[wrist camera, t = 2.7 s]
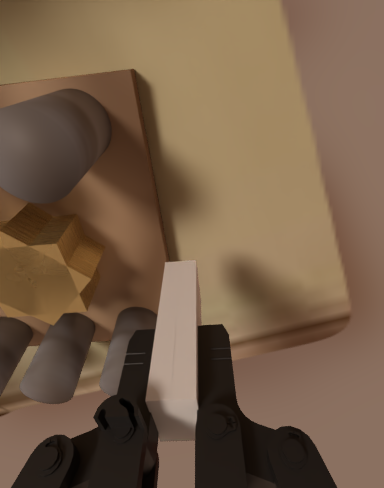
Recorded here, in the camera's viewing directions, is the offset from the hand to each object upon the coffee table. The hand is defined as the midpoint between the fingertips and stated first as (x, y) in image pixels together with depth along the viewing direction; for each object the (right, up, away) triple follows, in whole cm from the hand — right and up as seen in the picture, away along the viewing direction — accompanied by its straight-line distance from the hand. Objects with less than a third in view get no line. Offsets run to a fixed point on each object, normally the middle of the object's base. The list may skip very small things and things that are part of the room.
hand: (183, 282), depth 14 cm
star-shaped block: (-8, +1, +3) cm, 9 cm away
